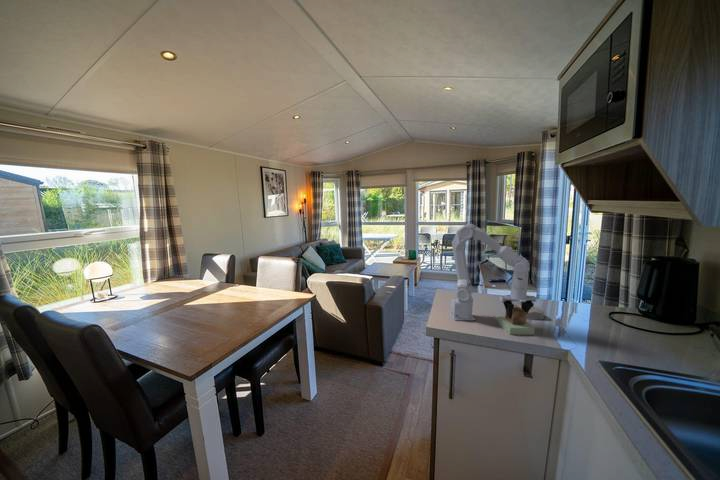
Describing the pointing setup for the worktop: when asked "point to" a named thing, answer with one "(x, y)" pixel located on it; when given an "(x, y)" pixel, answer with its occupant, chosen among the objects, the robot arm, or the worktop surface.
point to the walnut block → (517, 316)
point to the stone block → (533, 313)
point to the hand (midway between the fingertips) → (516, 317)
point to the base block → (516, 327)
